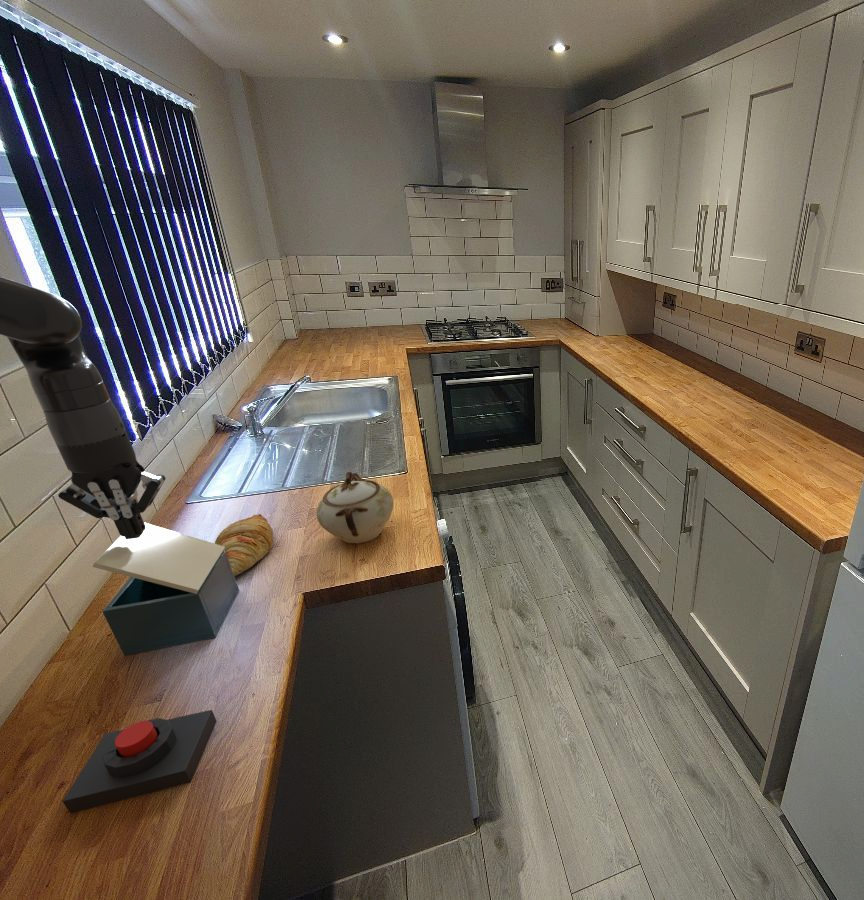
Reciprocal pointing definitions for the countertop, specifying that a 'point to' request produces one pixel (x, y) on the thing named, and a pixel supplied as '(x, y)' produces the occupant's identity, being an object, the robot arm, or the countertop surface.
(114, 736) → the switch block
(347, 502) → the sugar bowl
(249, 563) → the croissant
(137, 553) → the box lid
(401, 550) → the countertop surface
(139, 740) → the button
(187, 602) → the dark rectangular box
